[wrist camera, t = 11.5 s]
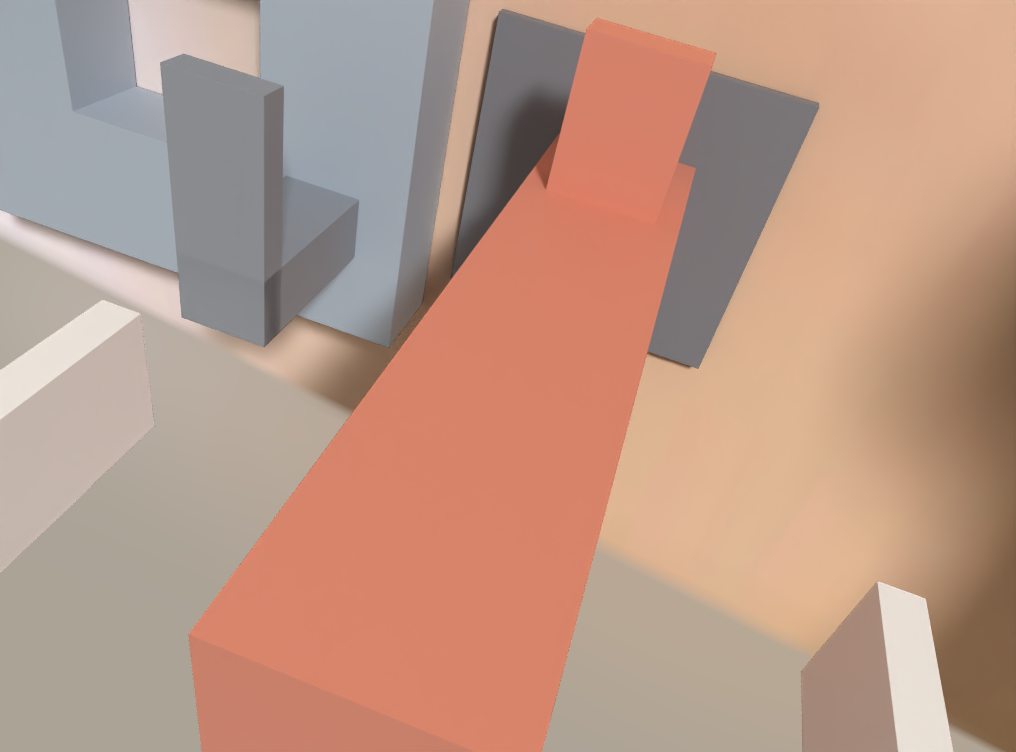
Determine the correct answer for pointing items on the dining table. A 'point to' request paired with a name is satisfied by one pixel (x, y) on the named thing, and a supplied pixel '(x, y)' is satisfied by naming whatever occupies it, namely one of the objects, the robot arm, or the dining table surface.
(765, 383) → the dining table surface
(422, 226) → the eye block
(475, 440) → the orange tabbed bar
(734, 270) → the mat
